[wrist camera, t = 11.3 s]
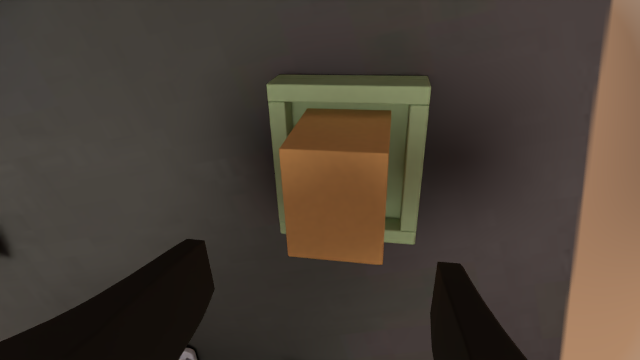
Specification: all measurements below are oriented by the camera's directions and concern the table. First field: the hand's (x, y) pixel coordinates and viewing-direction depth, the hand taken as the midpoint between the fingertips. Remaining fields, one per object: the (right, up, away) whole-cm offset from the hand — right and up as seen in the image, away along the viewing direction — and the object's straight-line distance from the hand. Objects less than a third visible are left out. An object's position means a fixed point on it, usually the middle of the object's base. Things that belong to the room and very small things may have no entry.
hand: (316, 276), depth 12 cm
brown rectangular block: (+2, +4, +7) cm, 9 cm away
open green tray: (+2, +4, +8) cm, 9 cm away
